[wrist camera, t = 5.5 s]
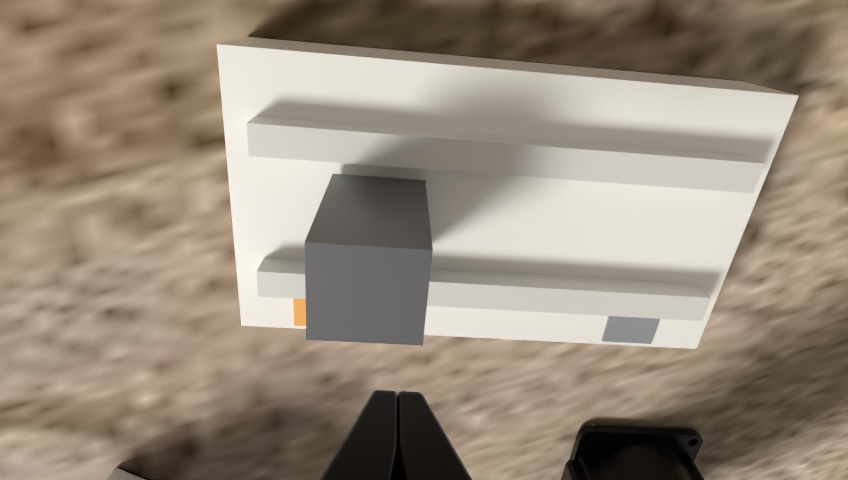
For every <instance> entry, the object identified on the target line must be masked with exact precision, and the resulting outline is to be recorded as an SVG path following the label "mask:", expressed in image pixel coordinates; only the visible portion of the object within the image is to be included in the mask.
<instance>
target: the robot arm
mask: <svg viewBox="0 0 848 480" xmlns="http://www.w3.org/2000/svg"><path fill="white" fill-rule="evenodd" d="M588 435H589V436H588ZM702 441H703V440H702V438H701V436H700V435H699V433H698V432H697V431H696V430H690V429H665V428H640V427H615V426H584V427H582V428H581V429H580V430H579V431H578V434H577V437H576V441H575V444H574V447H573V450H572V454H571V457H570V460H568V462H567V463H566V465H565V468H564V472H563V475H562V478H561V480H704V478H703V477H702V475H701V473H700V472H699V470H698V469H697V467H696V465H695V464H694V460H695V458H696V455H697V453H698V451H699V449H700V447H701V444H702ZM320 480H472V479H471V477H470V475H469V473H468V472H467V470H466V468H465V467H464V465H463V463H462V461H461V460H460V458H459V456H458V454H457V453H456V451H455V449H454V448H453V446H452V444H451V442H450V441H449V439H448V437H447V436H446V434H445V432H444V430H443V429H442V427H441V425H440V424H439V422H438V420H437V418H436V417H435V415H434V413H433V412H432V410H431V408H430V406H429V405H428V403H427V401H426V399H425V398H424V396H423V395H422V394H421V393H419V392H404V391H402V392H400V393H399V394H398V395H397V393H396V392H395V391H384V390H376V391H374V392H373V393H372V395H371V396H370V398H369V400H368V401H367V403H366V405H365V406H364V408H363V410H362V411H361V413H360V415H359V416H358V418H357V419H356V421H355V423H354V424H353V426H352V428H351V429H350V431H349V433H348V434H347V436H346V438H345V439H344V441H343V442H342V444H341V446H340V447H339V449H338V451H337V452H336V454H335V456H334V457H333V459H332V461H331V462H330V464H329V465H328V467H327V469H326V470H325V472H324V474H323V475H322V477H321V479H320Z"/></svg>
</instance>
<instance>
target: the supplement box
mask: <svg viewBox="0 0 848 480" xmlns="http://www.w3.org/2000/svg"><path fill="white" fill-rule="evenodd" d="M107 480H145V479H143V478H140V477H138V476H135V475H133V474H130V473H128V472H126V471H123V470H121V469H118V468H115V469H114V470H113V471H112V473H111V474H110V475H109V477H108V478H107Z"/></svg>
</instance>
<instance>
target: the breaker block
mask: <svg viewBox="0 0 848 480" xmlns="http://www.w3.org/2000/svg"><path fill="white" fill-rule="evenodd" d="M217 52H218V64H219V75H220V86H221V98H222V109H223V121H224V132H225V143H226V155H227V166H228V178H229V189H230V201H231V212H232V223H233V235H234V246H235V258H236V269H237V280H238V292H239V303H240V315H241V326H261V327H280V328H300V329H306V293H305V240H306V237H307V235H308V232H309V230H310V228H311V225H312V223H313V220H314V218H315V215H316V213H317V211H318V208H319V206H320V203H321V201H322V199H323V196H324V194H325V191H326V189H327V186H328V184H329V182H330V179H331V177H332V174H345V175H359V176H373V177H387V178H401V179H415V180H425V182H426V191H427V201H428V210H429V219H430V229H431V238H432V247H433V253H432V262H431V272H430V281H429V290H428V300H427V309H426V318H425V328H424V335H436V336H456V337H475V338H495V339H514V340H534V341H553V342H573V343H593V344H612V345H632V346H651V347H671V348H690V349H697V346H698V344H699V341H700V339H701V336H702V334H703V331H704V329H705V326H706V324H707V321H708V319H709V316H710V314H711V312H712V309H713V307H714V304H715V302H716V299H717V297H718V294H719V292H720V289H721V287H722V284H723V282H724V279H725V277H726V274H727V272H728V270H729V267H730V265H731V262H732V260H733V257H734V255H735V252H736V250H737V247H738V245H739V242H740V240H741V237H742V235H743V232H744V230H745V228H746V225H747V223H748V220H749V218H750V215H751V213H752V210H753V208H754V205H755V203H756V200H757V198H758V195H759V193H760V190H761V188H762V186H763V183H764V181H765V178H766V176H767V173H768V171H769V168H770V166H771V163H772V161H773V158H774V156H775V153H776V151H777V148H778V146H779V144H780V141H781V139H782V136H783V134H784V131H785V129H786V126H787V124H788V121H789V119H790V116H791V114H792V111H793V109H794V107H795V104H796V102H797V99H798V97H799V95H795V94H791V93H787V92H783V91H779V90H775V89H771V88H767V87H763V86H759V85H755V84H751V83H747V82H743V81H734V80H723V79H712V78H700V77H689V76H678V75H667V74H656V73H645V72H634V71H622V70H611V69H600V68H589V67H578V66H567V65H556V64H544V63H533V62H522V61H511V60H500V59H489V58H478V57H466V56H455V55H444V54H433V53H422V52H411V51H400V50H389V49H377V48H366V47H355V46H344V45H333V44H322V43H311V42H299V41H288V40H277V39H266V38H255V37H243V38H239V39H235V40H231V41H227V42H223V43H219V44H217Z"/></svg>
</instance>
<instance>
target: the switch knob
mask: <svg viewBox="0 0 848 480" xmlns="http://www.w3.org/2000/svg"><path fill="white" fill-rule="evenodd" d="M432 253H433V247H432V238H431V229H430V219H429V210H428V201H427V191H426V182H425V180H415V179H401V178H387V177H373V176H359V175H345V174H332V177H331V179H330V182H329V184H328V186H327V189H326V191H325V194H324V196H323V199H322V201H321V203H320V206H319V208H318V211H317V213H316V215H315V218H314V220H313V223H312V225H311V228H310V230H309V232H308V235H307V237H306V240H305V293H306V340H325V341H346V342H366V343H386V344H406V345H423V337H424V328H425V318H426V309H427V300H428V290H429V281H430V272H431V262H432Z"/></svg>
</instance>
